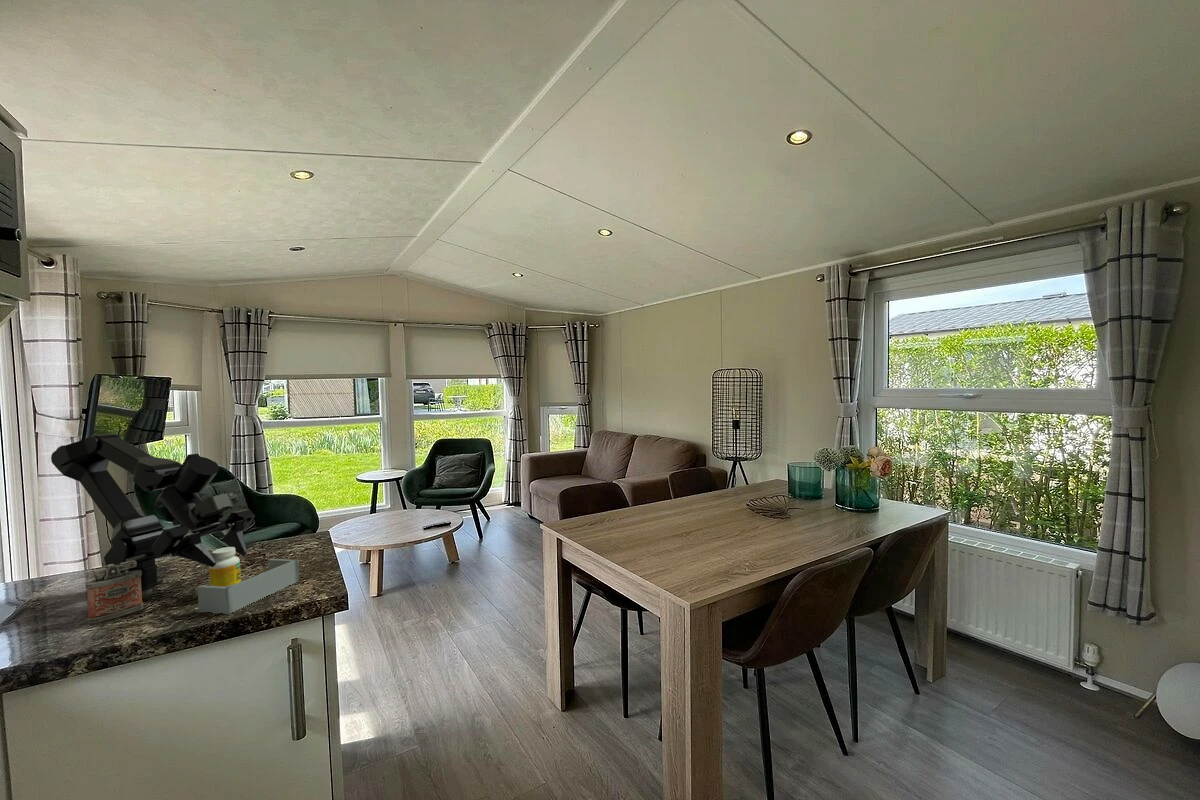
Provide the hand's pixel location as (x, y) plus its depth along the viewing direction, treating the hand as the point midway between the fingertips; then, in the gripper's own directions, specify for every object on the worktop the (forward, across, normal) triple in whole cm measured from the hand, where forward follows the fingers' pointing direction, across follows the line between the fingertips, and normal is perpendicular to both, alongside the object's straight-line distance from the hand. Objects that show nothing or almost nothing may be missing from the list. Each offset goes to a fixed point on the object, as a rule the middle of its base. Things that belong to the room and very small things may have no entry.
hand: (230, 559), depth 106 cm
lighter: (-5, -12, +16) cm, 20 cm away
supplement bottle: (+4, 0, +7) cm, 8 cm away
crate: (+9, 0, +2) cm, 9 cm away
